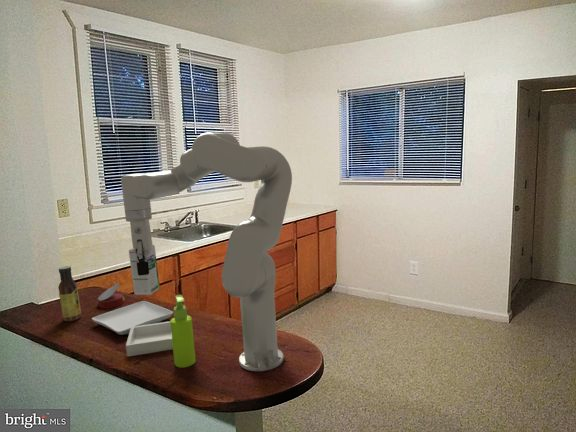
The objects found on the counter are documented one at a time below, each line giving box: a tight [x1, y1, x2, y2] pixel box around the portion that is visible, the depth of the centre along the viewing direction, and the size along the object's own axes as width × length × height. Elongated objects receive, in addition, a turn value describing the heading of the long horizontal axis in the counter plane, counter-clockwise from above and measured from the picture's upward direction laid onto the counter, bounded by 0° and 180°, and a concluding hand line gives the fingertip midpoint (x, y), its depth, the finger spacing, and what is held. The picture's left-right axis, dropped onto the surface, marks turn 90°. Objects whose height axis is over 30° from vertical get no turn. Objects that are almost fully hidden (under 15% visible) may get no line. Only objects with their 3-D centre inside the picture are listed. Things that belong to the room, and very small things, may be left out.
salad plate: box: [91, 300, 174, 336], centre depth 152 cm, size 21×21×3 cm
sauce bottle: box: [58, 266, 82, 323], centre depth 156 cm, size 7×6×20 cm
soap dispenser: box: [170, 294, 197, 368], centre depth 119 cm, size 6×7×20 cm
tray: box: [125, 321, 173, 357], centre depth 134 cm, size 14×14×4 cm
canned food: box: [97, 282, 125, 309], centre depth 172 cm, size 11×10×10 cm
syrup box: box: [128, 244, 161, 296], centre depth 131 cm, size 6×6×14 cm
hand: (144, 270), depth 131 cm, fingers closed on syrup box, 7 cm apart
